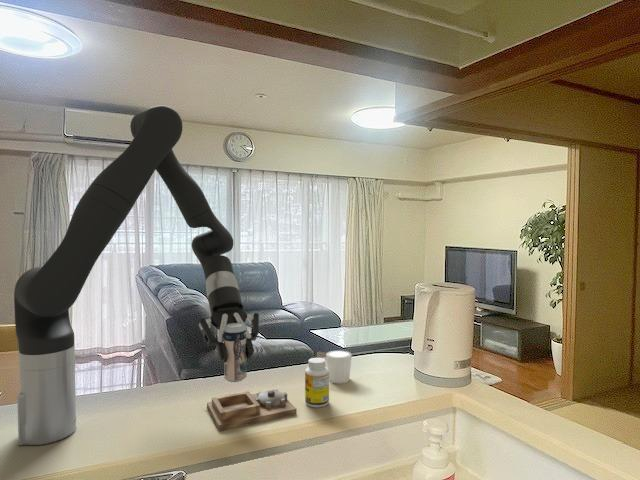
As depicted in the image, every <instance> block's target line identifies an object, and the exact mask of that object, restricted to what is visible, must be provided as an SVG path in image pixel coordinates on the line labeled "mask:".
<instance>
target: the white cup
mask: <svg viewBox="0 0 640 480" xmlns="http://www.w3.org/2000/svg"><path fill="white" fill-rule="evenodd" d="M325 354H326V355H325V356H326V367H327V368H328V369H329V382H331V383H334V384H346V383H348V382H349V381H350V378H351V377H350V376H351V368H352V367H351V366H352V355H353V354H352V353H351V352H350V351H346V350H331V351H328V352H326V353H325Z"/></svg>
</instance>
